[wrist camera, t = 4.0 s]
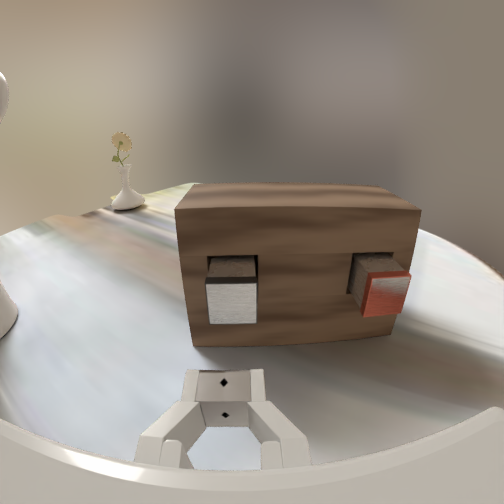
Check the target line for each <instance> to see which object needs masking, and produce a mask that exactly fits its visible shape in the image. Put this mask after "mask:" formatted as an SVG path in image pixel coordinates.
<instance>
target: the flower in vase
mask: <svg viewBox="0 0 504 504" xmlns="http://www.w3.org/2000/svg"><path fill="white" fill-rule="evenodd" d="M112 143H113V144H114V145H115V147H117V149H118V153H119V150H123V151H126V152H127V151H128V150H130V149H131V148H132V147H131V145H132V142H131V140H130V139H129V136H126V134H123V132H121V133H119V132H117V133H115V134H114V135H113V136H112ZM118 153H117V155H118ZM128 156H129V155H128ZM128 156H127V157H128ZM127 157H126V158H127ZM126 158H124V159H126ZM124 159H123V160H124ZM123 160H122V161H123ZM112 161H115V162H118V161H120V162H121V160H120V158H119V155H118V157H117V156H114V157H113V160H112ZM121 164H122V162H121ZM130 167H131V164H129V165H123V164H122V166H118V167H117V168H118V170H119V171H120V174H121V177H122V184H123V186H122V190H121V192H120V193H119V194H118V195H117V197H116V198H115V199H114V200H113V202H112V205H111V206H112V207H113V208H114V209H118V210H125V209H131V208H135V207H138V206H140V205H142V204H143V203H144V201H145V199H144V197H143V196H142V195H140V194H139V193H137V192H135V191H134V190H132V189H131V187H130V185H129V170H130Z"/></svg>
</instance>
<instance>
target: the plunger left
mask: <svg viewBox="0 0 504 504" xmlns="http://www.w3.org/2000/svg"><path fill="white" fill-rule="evenodd" d="M205 292H206V302H207V311H208V320H209V325H229V324H257V304H258V282H257V276H256V274H255V263H254V255H220V256H212V258H211V263H210V267H209V272H208V277H206V279H205Z"/></svg>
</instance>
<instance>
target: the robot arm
mask: <svg viewBox="0 0 504 504" xmlns="http://www.w3.org/2000/svg"><path fill="white" fill-rule="evenodd" d="M8 101H9V89H8V85H7V82H6V80H5V78H4V76H3V75H2V74H1V73H0V123H1V121H2V119H3V117H4V115H5V113H6V110H7V106H8ZM17 314H18V308H17V306H16V304H15V303H14V302H13V300H12V299H11V298H10V296H9V295H8V293H7V292H6V290H5V288H4V286H3V285H2V283H1V281H0V338H1V337H3V336H4V335H5V334H6V333H7V332H8V330H9V329H10V328H11V327H12V325H13V324H14V322H15V320H16V318H17ZM250 380H251V381H250ZM206 427H249V429H250V430H251V431H252V433H253V434H254V435H255V437H256V438H257V439H258V440H259V442H260V443H261V470H245V471H221V470H197V469H194V467H193V465H192V463H191V461H190V460H189V458H188V455H187V452H188V451H189V449H190V448H191V447H192V446H193V444H194V443H195V442H196V441H197V439H198V438H199V437H200V436H201V434H202V433H203V432H204V430H205V429H206ZM0 504H504V409H502V408H499V407H491V408H489V409H487V410H485V411H483V412H481V413H479V414H477V415H475V416H473V417H471V418H469V419H467V420H465V421H463V422H460V423H458V424H456V425H454V426H451V427H449V428H447V429H444V430H442V431H439V432H437V433H434V434H432V435H429V436H426V437H424V438H421V439H418V440H415V441H412V442H409V443H406V444H403V445H400V446H397V447H393V448H390V449H387V450H383V451H379V452H376V453H372V454H368V455H364V456H359V457H355V458H350V459H345V460H340V461H335V462H329V463H323V464H317V465H312V462H311V456H310V451H309V445H308V440H307V437H306V436H305V435H304V434H303V433H302V432H301V431H300V430H299V429H298V428H297V427H296V426H295V425H294V424H293V423H292V422H291V421H290V420H289V419H288V418H287V417H286V416H285V415H284V414H283V413H282V412H281V411H280V410H279V409H278V408H277V407H276V406H275V405H274V404H273V403H272V402H271V401H266V390H265V379H264V370H263V369H247V370H225V371H222V370H187V372H186V375H185V381H184V386H183V392H182V397H181V401H177V402H176V403H175V404H173V405H172V406H171V407H170V408H169V409H168V410H167V411H166V412H165V413H164V414H163V415H162V416H161V417H159V418H158V419H157V420H156V421H155V422H154V423H153V424H152V425H151V426H150V427H149V428H147V429H146V430H145V431H144V432H143V433H142V434H141V435H140V437H139V441H138V445H137V449H136V454H135V458H134V462H132V461H126V460H121V459H117V458H112V457H108V456H103V455H99V454H95V453H92V452H88V451H84V450H81V449H77V448H74V447H71V446H68V445H65V444H62V443H59V442H56V441H53V440H50V439H47V438H45V437H42V436H39V435H37V434H34V433H32V432H29V431H27V430H25V429H22V428H20V427H18V426H15V425H13V424H11V423H9V422H7V421H5V420H3V419H1V418H0Z"/></svg>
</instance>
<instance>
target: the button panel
mask: <svg viewBox="0 0 504 504" xmlns="http://www.w3.org/2000/svg"><path fill="white" fill-rule="evenodd" d="M174 211H175V221H176V231H177V240H178V249H179V257H180V265H181V273H182V280H183V287H184V294H185V301H186V307H187V314H188V320H189V326H190V332H191V337H192V343H193V346H205V347H237V346H273V345H292V344H308V343H321V342H332V341H342V340H352V339H361V338H369V337H377V336H384V335H391V332H392V329H393V326H394V323H395V319H396V316H397V314H390V315H382V316H372V317H363V316H362V314H361V312H360V308H359V306H358V304H357V302H356V301H355V299H354V297H353V295H352V294H351V292H350V290H349V289H348V287H347V285H348V279H349V273H350V267H351V260H352V254H353V253H365V252H387V253H388V254H389V255H390V256H391V257H392V258H393V259H394V260H395V261H396V262H397V263H398V264H399V265H400V266H401V267H402V268H403V269H404V270H405V271H406V270H407V271H408V272H409V270H410V266H411V261H412V257H413V253H414V248H415V243H416V238H417V233H418V228H419V222H420V217H421V209H419V208H417V207H416V206H414V205H412V204H410V203H408V202H407V201H405V200H403V199H401V198H400V197H398V196H396V195H394V194H392V193H390V192H389V191H387V190H385V189H383V188H381V187H379V186H371V185H354V184H332V183H289V182H287V183H285V182H283V183H282V182H281V183H280V182H269V183H267V182H260V183H257V182H256V183H214V184H194V185H193V186H192V187H191V189H190V190H189V191H188V192H187V194H186V195H185V196H184V197H183V199H182V200H181V201H180V202H179V204H178V205H177V206H176V208H175V209H174ZM220 255H254V263H255V274H256V276H257V282H258V304H257V324H229V325H209V320H208V311H207V302H206V292H205V279H206V277H208V272H209V267H210V263H211V258H212V256H220Z"/></svg>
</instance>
